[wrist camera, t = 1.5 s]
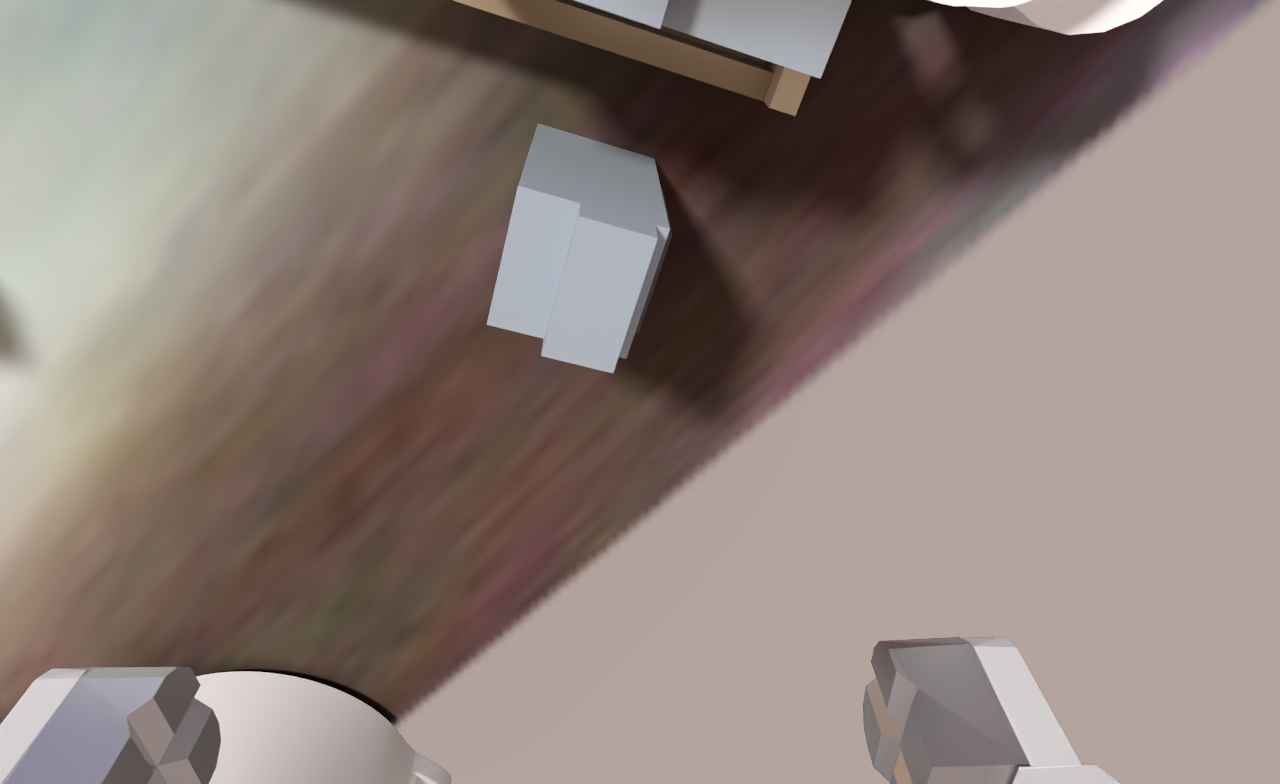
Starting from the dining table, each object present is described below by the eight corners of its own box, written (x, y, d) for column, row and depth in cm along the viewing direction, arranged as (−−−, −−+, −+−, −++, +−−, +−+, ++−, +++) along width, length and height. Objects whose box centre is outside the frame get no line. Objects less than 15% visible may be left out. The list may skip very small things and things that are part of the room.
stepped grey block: (628, 267, 28) (637, 379, 21) (512, 236, 27) (481, 341, 20) (662, 161, 26) (684, 246, 19) (538, 123, 25) (514, 198, 18)
